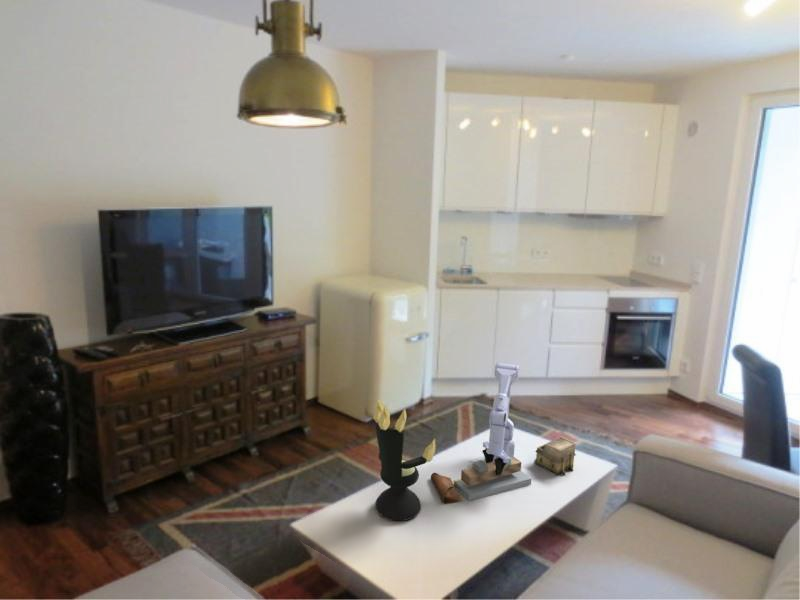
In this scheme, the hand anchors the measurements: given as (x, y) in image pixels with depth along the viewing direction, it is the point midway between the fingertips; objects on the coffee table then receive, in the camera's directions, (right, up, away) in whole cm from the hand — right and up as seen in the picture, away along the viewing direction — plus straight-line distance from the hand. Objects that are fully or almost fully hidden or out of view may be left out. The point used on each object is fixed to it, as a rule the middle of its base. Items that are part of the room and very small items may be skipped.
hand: (493, 470), depth 221 cm
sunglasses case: (-19, -7, -3) cm, 21 cm away
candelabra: (-39, -9, -19) cm, 45 cm away
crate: (-6, +2, -4) cm, 8 cm away
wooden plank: (-1, -2, 0) cm, 2 cm away
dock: (0, -6, +1) cm, 6 cm away
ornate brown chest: (+30, -4, +19) cm, 36 cm away
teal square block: (+4, +3, +2) cm, 5 cm away
